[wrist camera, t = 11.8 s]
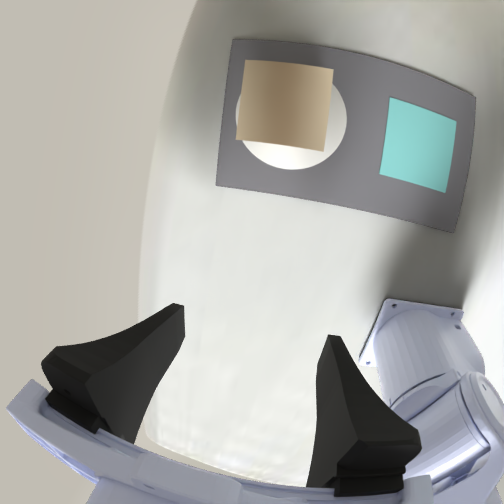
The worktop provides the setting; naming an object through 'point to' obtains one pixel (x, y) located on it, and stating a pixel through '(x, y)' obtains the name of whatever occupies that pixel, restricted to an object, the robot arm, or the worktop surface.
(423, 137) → the mat
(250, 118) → the maple block
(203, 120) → the worktop surface
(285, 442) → the worktop surface
